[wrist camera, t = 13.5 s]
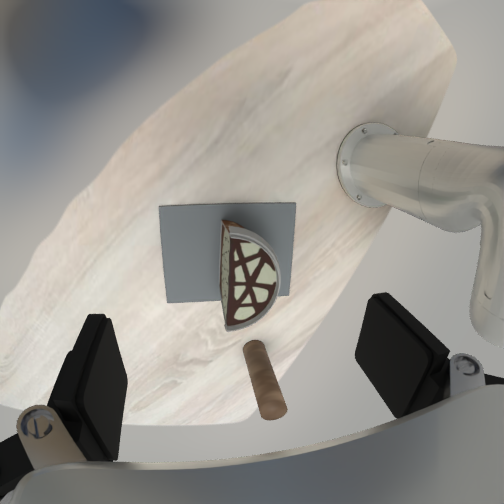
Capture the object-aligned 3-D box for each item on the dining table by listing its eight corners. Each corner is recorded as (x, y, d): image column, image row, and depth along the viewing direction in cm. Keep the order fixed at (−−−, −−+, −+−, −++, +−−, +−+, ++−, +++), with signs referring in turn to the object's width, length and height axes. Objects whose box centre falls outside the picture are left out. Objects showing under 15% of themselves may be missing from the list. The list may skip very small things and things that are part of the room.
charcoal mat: (295, 202, 41) (296, 203, 40) (288, 294, 46) (288, 295, 46) (159, 206, 37) (159, 206, 37) (167, 301, 43) (167, 303, 42)
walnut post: (264, 339, 48) (288, 401, 36) (263, 355, 50) (286, 417, 37) (243, 341, 48) (261, 406, 35) (242, 357, 49) (260, 421, 36)
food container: (260, 292, 44) (278, 332, 35) (218, 293, 43) (226, 335, 34) (268, 209, 40) (291, 233, 31) (221, 208, 39) (231, 232, 30)
